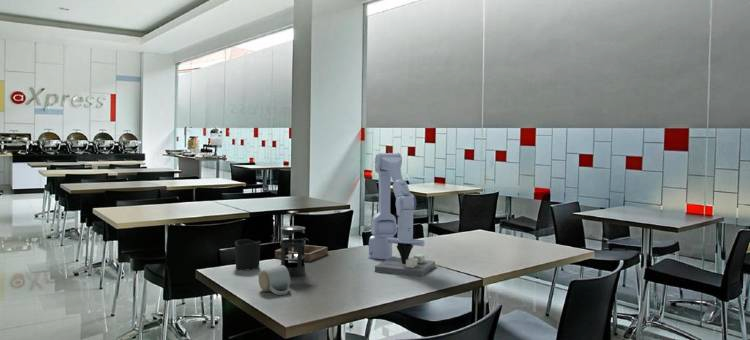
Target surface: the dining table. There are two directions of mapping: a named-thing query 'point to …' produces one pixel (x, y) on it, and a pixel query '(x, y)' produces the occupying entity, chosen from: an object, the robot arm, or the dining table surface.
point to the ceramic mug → (275, 280)
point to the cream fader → (411, 262)
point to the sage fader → (420, 258)
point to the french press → (292, 267)
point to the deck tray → (311, 254)
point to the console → (404, 267)
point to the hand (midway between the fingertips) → (404, 263)
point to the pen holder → (247, 254)
